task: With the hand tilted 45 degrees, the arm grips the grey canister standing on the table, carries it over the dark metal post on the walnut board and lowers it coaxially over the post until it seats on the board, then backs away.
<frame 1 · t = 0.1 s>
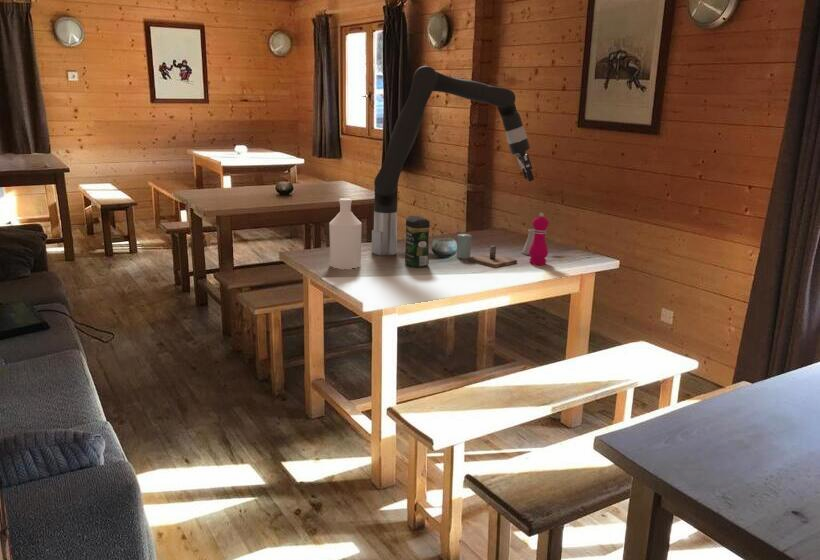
hand: (529, 179, 266), 31 cm above the table, tool tilted 20°, fingers open, 8 cm apart
bottle: (345, 266, 252), on the table
coffee jar: (416, 265, 257), on the table
grey canister: (463, 257, 271), on the table
post stand: (492, 261, 265), on the table
pepper mill: (537, 263, 264), on the table
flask: (530, 254, 280), on the table
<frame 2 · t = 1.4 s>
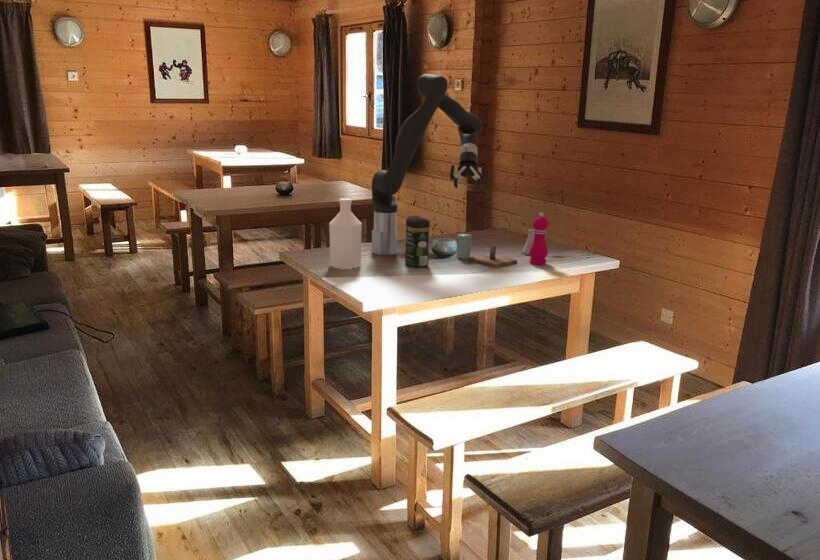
hand: (466, 187, 275), 27 cm above the table, tool tilted 45°, fingers open, 8 cm apart
nothing on the table moved.
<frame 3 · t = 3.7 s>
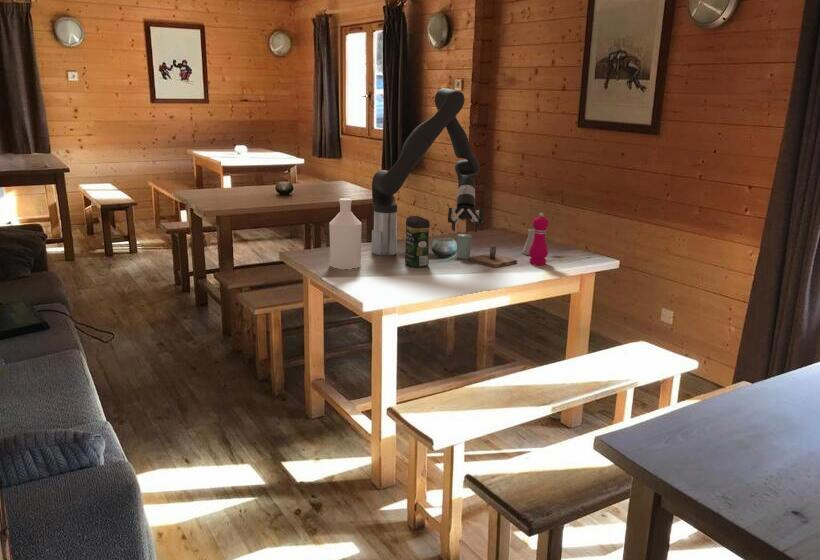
hand: (464, 230, 273), 10 cm above the table, tool tilted 45°, fingers open, 8 cm apart
nothing on the table moved.
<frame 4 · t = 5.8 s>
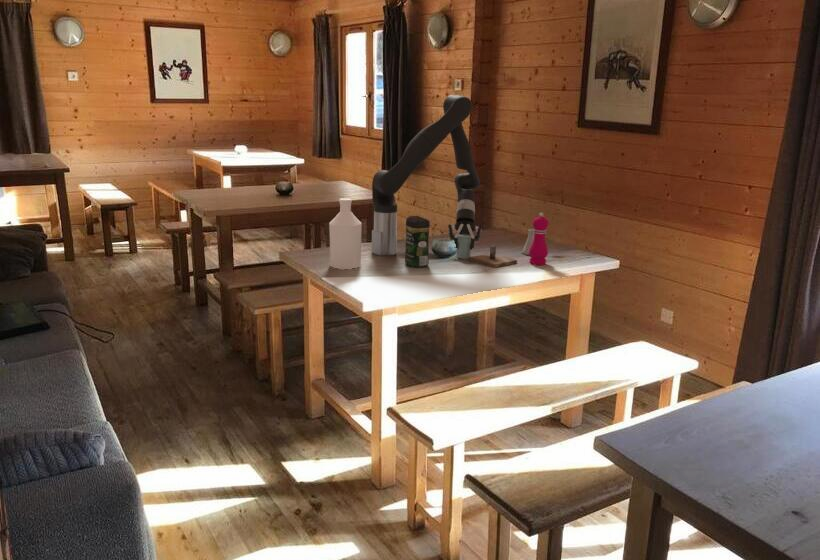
hand: (464, 247, 268), 4 cm above the table, tool tilted 45°, fingers closed on grey canister, 5 cm apart
grey canister: (463, 257, 271), on the table, touching gripper
everything else where it was.
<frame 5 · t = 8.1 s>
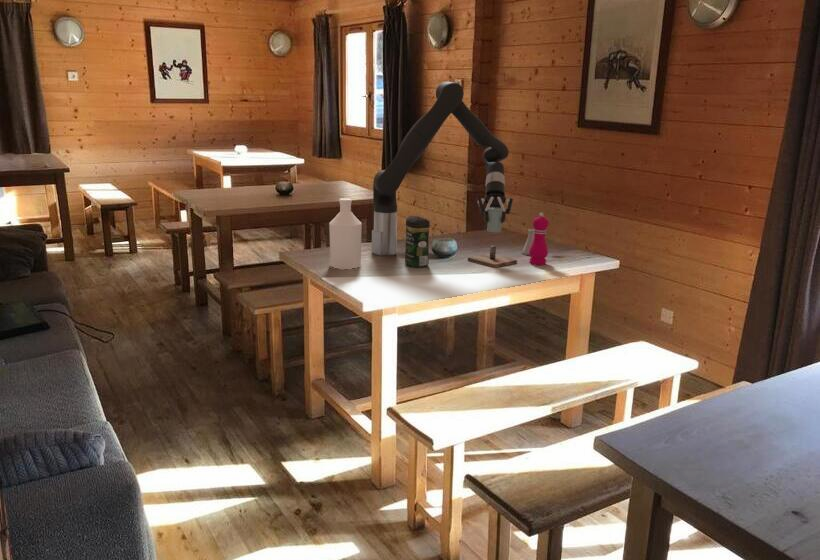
hand: (494, 221, 259), 16 cm above the table, tool tilted 45°, fingers closed on grey canister, 5 cm apart
grey canister: (494, 231, 262), point 12 cm above the table, touching gripper
everything else where it was.
when the fingers open (7 cm above the table, at t = 10.8 s): grey canister drops 2 cm, resting on post stand.
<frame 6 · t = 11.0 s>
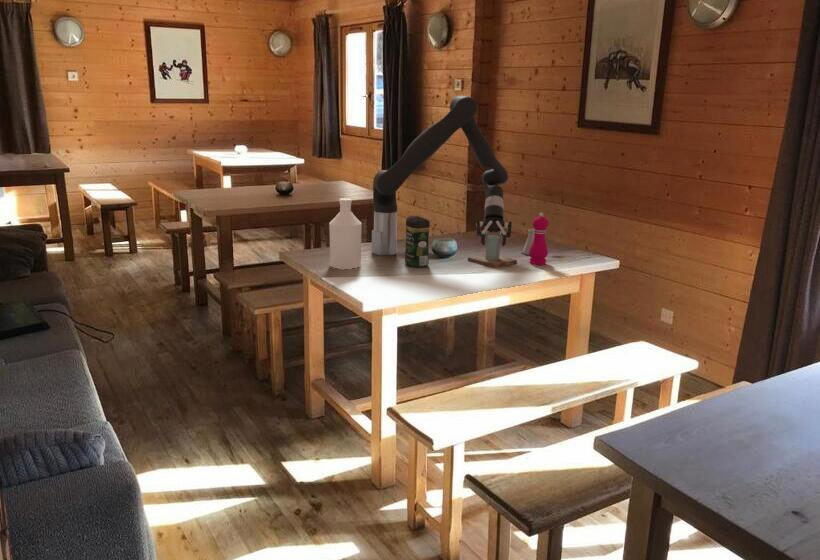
hand: (493, 244, 261), 7 cm above the table, tool tilted 45°, fingers open, 7 cm apart
grey canister: (492, 258, 264), point 1 cm above the table, touching post stand
everything else where it was.
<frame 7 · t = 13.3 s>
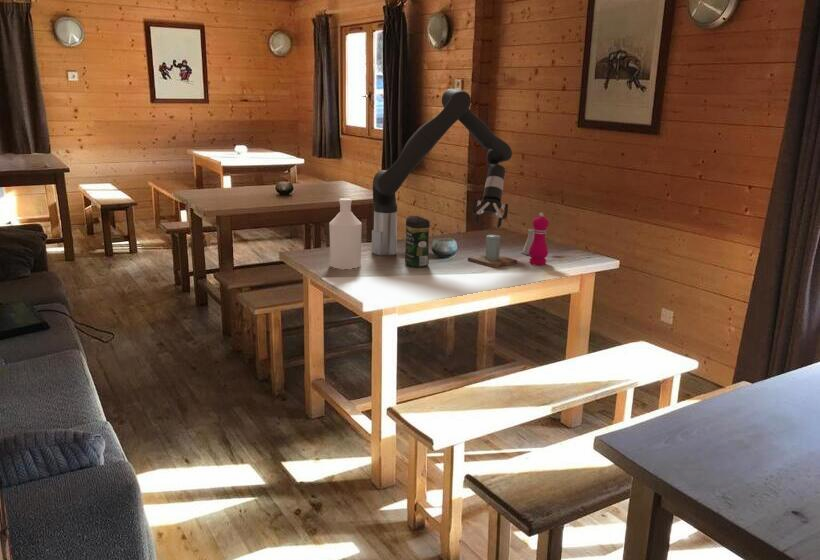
hand: (487, 225, 274), 12 cm above the table, tool tilted 30°, fingers open, 8 cm apart
nothing on the table moved.
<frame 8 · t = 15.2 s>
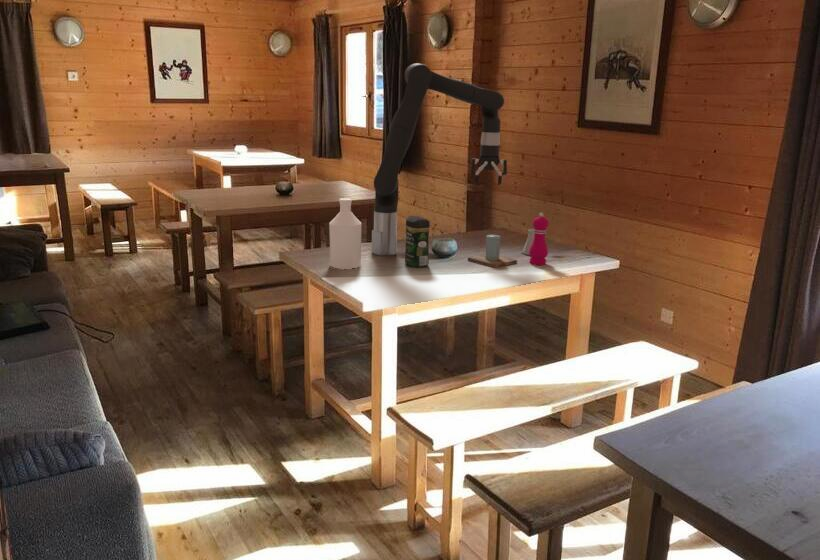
hand: (487, 184, 272), 28 cm above the table, tool pointing down, fingers open, 8 cm apart
nothing on the table moved.
at the end: grey canister 0.2 cm from the post stand (horizontally); grey canister point 1.2 cm above the table; grey canister tilted 0° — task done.
